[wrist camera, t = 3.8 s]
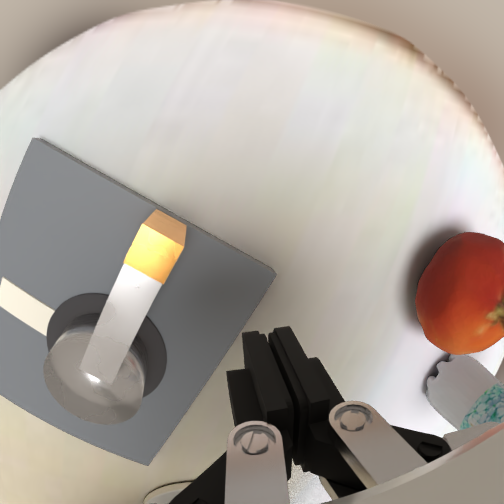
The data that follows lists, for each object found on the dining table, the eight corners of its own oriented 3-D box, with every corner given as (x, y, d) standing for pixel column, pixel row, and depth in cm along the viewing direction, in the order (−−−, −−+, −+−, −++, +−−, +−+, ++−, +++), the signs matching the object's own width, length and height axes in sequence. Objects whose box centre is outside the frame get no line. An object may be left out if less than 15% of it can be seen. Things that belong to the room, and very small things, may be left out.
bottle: (410, 405, 27) (522, 537, 8) (431, 350, 25) (577, 481, 6) (453, 392, 28) (559, 497, 9) (473, 341, 27) (603, 441, 8)
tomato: (424, 347, 25) (479, 394, 17) (378, 287, 22) (447, 336, 15) (484, 273, 25) (545, 302, 17) (450, 201, 22) (527, 219, 14)
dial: (129, 402, 19) (120, 453, 15) (53, 364, 18) (28, 409, 13) (219, 243, 18) (228, 270, 13) (124, 190, 16) (99, 199, 11)
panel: (272, 268, 20) (278, 276, 19) (148, 456, 23) (147, 468, 22) (41, 138, 16) (30, 137, 14) (-21, 368, 18) (-28, 377, 17)
